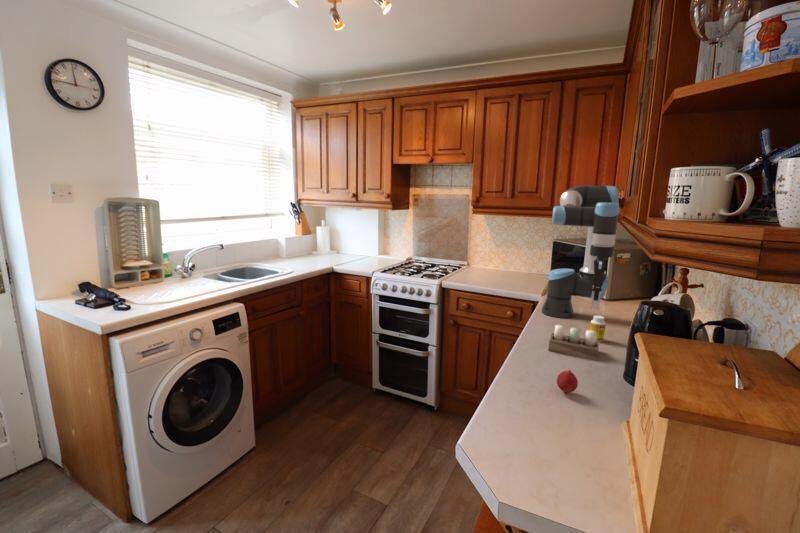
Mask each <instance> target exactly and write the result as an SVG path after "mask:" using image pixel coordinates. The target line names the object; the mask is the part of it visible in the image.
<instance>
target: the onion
mask: <svg viewBox="0 0 800 533" xmlns="http://www.w3.org/2000/svg"><path fill="white" fill-rule="evenodd" d="M556 384H557V387H558V388H559V389H560V390H561V391H562V393H564V394H565V395H567V394H570V393H573V392H574V391H575V390H577V388H578V384H579V381H578V379H577V376H576V375H575V374H574V373H573V372H572V370H571V369H569V368H568V369H567V370H564V371H562V372H560V373H559V374H558V375H557V378H556Z"/></svg>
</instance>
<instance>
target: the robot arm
mask: <svg viewBox="0 0 800 533" xmlns="http://www.w3.org/2000/svg"><path fill="white" fill-rule="evenodd" d="M619 200H620V199H619V190H618V188H617V187H616V186H615V185H613V186H612V185H578V186H574V187H570V188H568V189H566V190H565V191H564V192H563V193H562V194H561V195H560V198H559V205H555V206H553V209H552V217H551V218H552V219H551V223H552V225H555V226H556V225H557V226H558V225H559V226H572V227H573V226H574V227H576V226H577V227H587V235H586V241H585V242H586V243H585V250H584V251H585V252H584V259H583V266H582V267H581V268H580V269H579V270H578V271H579V272H576V271H575V269H573V268H556V269H551V270H550V272H549V274H548V279H547V280H548V282H547V292H546V298H545V300H544V302H543V304H542V307H541V313H542V314H544V315H546V316H550V317H553V318H558V319H559V318H561V319H568V318H573V317H574V311H575V310H574V307H573V303H572V296H574V297H581V298H587V299H589V298H591V299H590V309H595V310H599V309H600V303H601V299H603V297H604V296H605V294H606V292H607V288H608V285H609V280H610V276H609V275H607V274H606V273H607V271H606V267H607V260H606V261H605V258H612V257H613V256H614V250H615V248H614V246H615V244H616V236H617V227H618V219H619V214H620V202H619Z"/></svg>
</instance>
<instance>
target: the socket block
mask: <svg viewBox="0 0 800 533" xmlns="http://www.w3.org/2000/svg"><path fill="white" fill-rule="evenodd" d="M569 336H570V335H565V334H564V340H563V341H560V340H555V339H554V333H553V332H552V333H551V335H550V338H549V341H548V349H547V350H548V351H549V352H552V353H559V354H563V355H568V356H573V357H578V358H582V359H588V360H593V361H598V357H599V349H600V348H599V345H600V344H599V343H600V342H599V341H595V346H594V347H592V346H587V345H585V344H584V343H585V338H581V337H580V339H579V343H578V344H576V343H571V342H569Z"/></svg>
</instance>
